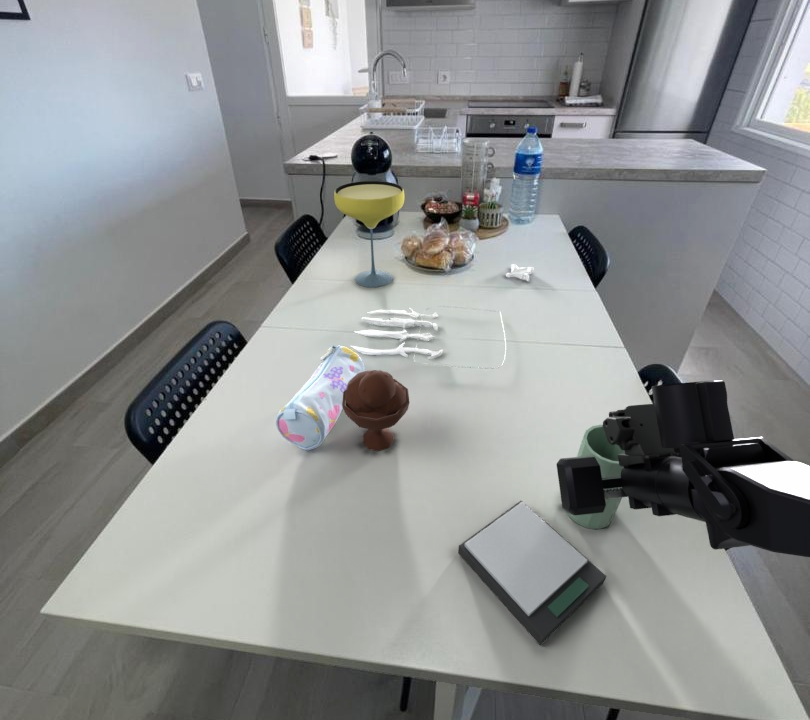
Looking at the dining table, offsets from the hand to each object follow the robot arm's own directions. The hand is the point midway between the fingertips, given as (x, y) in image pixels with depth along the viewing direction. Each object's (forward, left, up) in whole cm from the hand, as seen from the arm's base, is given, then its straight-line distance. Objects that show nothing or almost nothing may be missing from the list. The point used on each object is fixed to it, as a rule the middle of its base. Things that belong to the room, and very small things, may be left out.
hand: (603, 472), depth 60 cm
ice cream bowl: (+30, +17, -8) cm, 36 cm away
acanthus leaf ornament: (+61, -53, -8) cm, 82 cm away
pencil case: (+41, +21, -8) cm, 47 cm away
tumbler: (0, 0, -8) cm, 8 cm away
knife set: (+51, -11, -8) cm, 53 cm away
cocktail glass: (+84, -17, -8) cm, 86 cm away
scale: (-1, +14, -8) cm, 16 cm away
